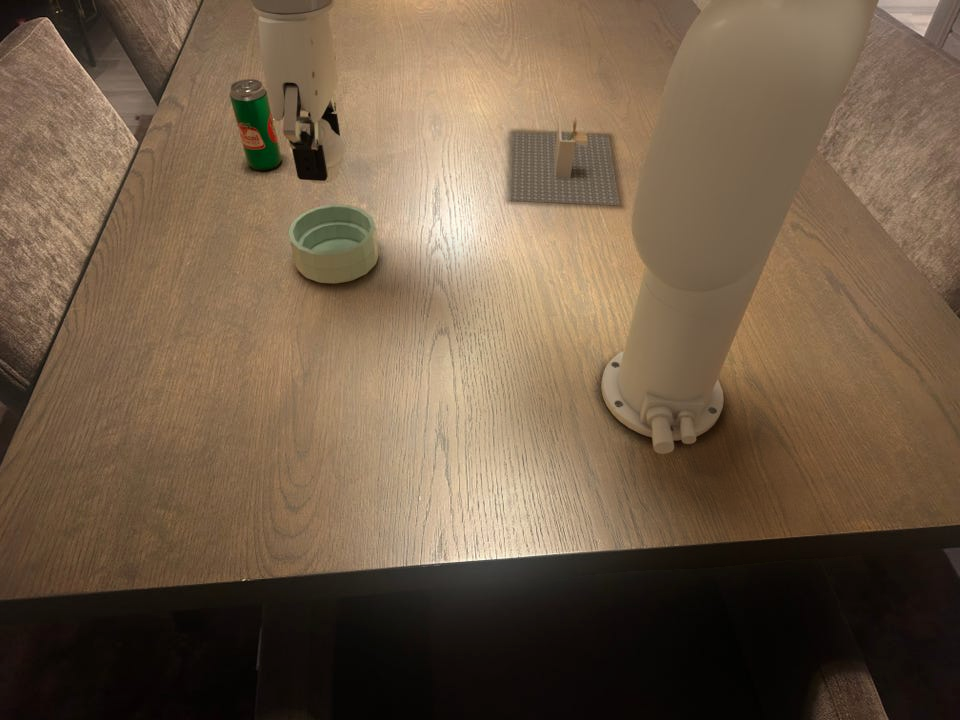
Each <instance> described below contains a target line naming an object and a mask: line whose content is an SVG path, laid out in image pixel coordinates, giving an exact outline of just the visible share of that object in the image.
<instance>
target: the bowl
mask: <svg viewBox="0 0 960 720" xmlns="http://www.w3.org/2000/svg"><path fill="white" fill-rule="evenodd" d="M287 233H288V238H289V241H290V242H289V243H290V246H291V250H292V255H293V259H294V263H295V268H296V270H297V271H298V272H299V273H300V274H301V275H302V276H304V277H305V278H306V279H309V280H312V281H314V282H317V283H320V284H334V285H335V284H342V283H347V282H352V281H355V280H356V279H358V278H361V277H363V276H365V275H366V274H368V273H369V272H370V271H371V270H372V269H373V268H374V267H375V266H376V265H377V261H378V258H379V245H378V244H379V243H378V235H377V227H376V224H375V220H374V218H373V216H372V215H371V214H369V213H368V212H367V211H365V210H364V209H362V208H359V207H357V206H353V205H350V204H341V203H340V204H338V203H332V204H331V203H330V204H326V205H320V206H316V207H313V208H311V209H309V210H306V211H303V212H302V213H301V214H300V215H298V216H297V217H296V218H295V219H294V220H292V222H291V224H290V225H289V228H288V230H287Z"/></svg>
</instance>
